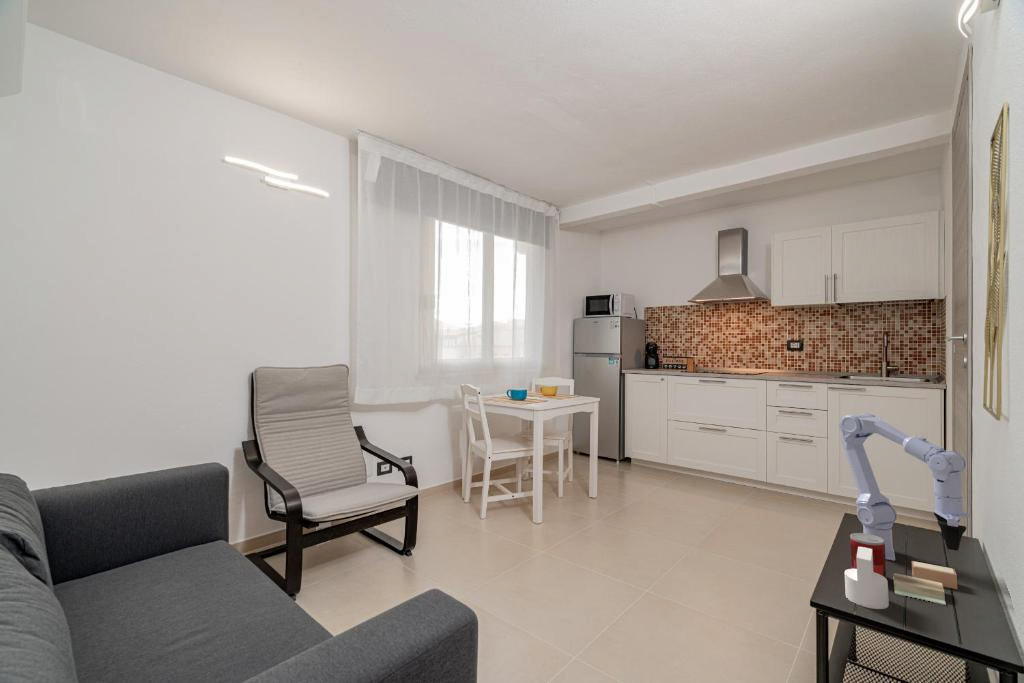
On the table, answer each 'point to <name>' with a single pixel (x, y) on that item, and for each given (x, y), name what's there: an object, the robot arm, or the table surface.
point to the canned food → (872, 543)
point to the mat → (919, 596)
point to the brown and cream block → (935, 574)
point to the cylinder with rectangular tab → (866, 582)
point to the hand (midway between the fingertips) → (950, 544)
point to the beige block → (919, 586)
